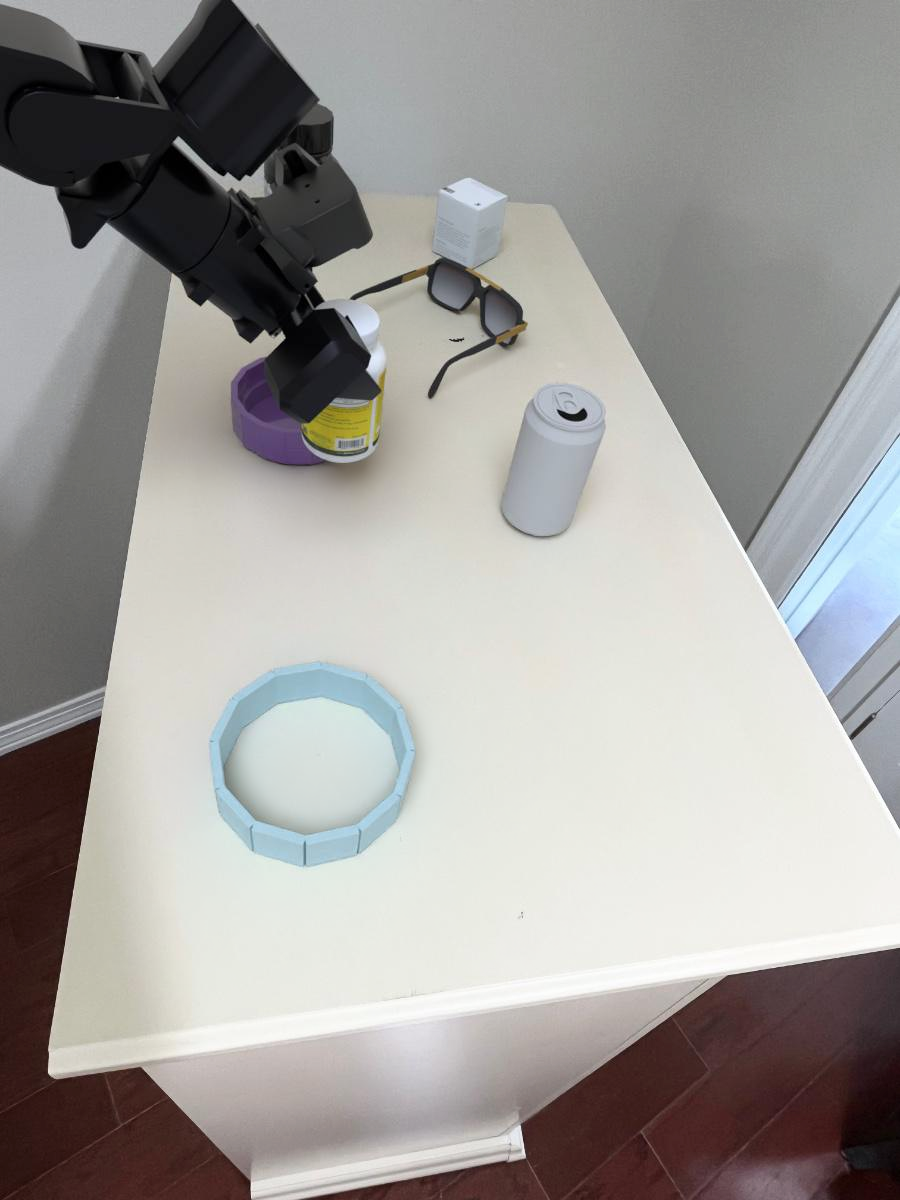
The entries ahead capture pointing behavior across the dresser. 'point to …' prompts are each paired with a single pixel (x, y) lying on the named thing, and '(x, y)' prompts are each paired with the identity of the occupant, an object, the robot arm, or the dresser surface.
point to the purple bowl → (265, 420)
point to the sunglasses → (465, 304)
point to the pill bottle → (350, 422)
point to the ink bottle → (306, 141)
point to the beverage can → (553, 458)
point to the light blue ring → (300, 686)
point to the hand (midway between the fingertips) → (361, 368)
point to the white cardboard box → (469, 222)
